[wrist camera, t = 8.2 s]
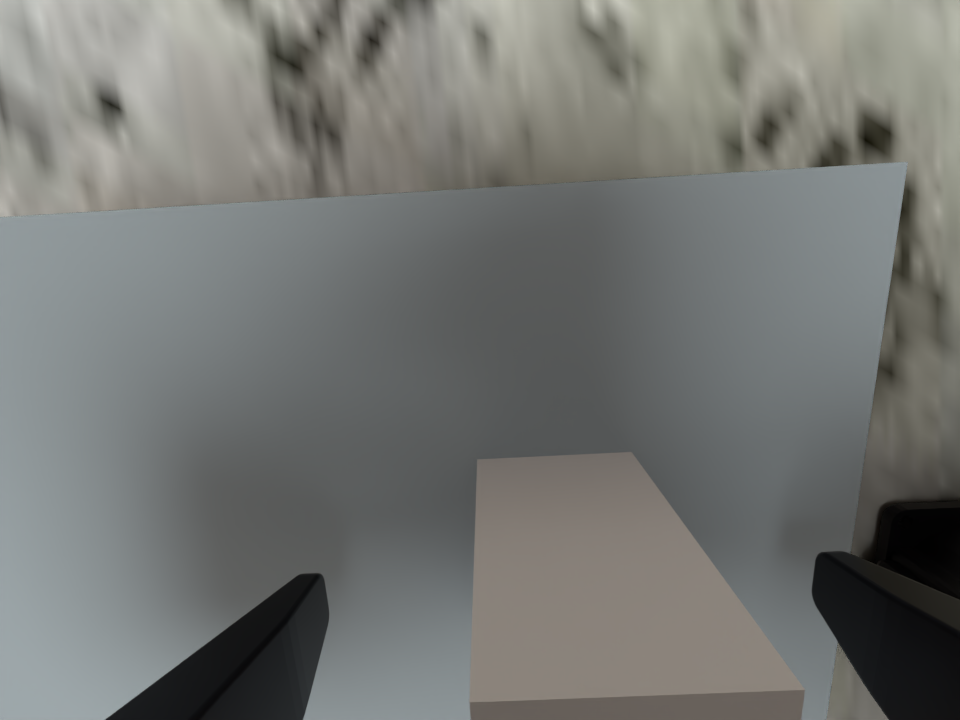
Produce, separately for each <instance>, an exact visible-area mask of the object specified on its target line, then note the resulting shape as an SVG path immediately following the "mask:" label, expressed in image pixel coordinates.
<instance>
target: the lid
mask: <svg viewBox="0 0 960 720" xmlns="http://www.w3.org/2000/svg"><path fill="white" fill-rule="evenodd" d="M907 164H908V162H897V163H881V164H864V165H848V166H832V167H815V168H799V169H782V170H766V171H750V172H733V173H717V174H700V175H684V176H668V177H651V178H635V179H619V180H602V181H586V182H569V183H553V184H537V185H520V186H504V187H488V188H471V189H455V190H438V191H422V192H406V193H389V194H373V195H357V196H340V197H324V198H307V199H291V200H275V201H258V202H242V203H225V204H209V205H193V206H176V207H160V208H144V209H127V210H111V211H94V212H78V213H62V214H45V215H29V216H13V217H0V720H105V719H106V718H108V717H109V716H110V715H112V714H113V713H114V712H116V711H117V710H118V709H120V708H121V707H122V706H124V705H125V704H126V703H128V702H129V701H130V700H132V699H133V698H134V697H136V696H137V695H138V694H140V693H141V692H142V691H144V690H145V689H146V688H148V687H149V686H150V685H152V684H153V683H154V682H156V681H157V680H158V679H160V678H161V677H162V676H164V675H165V674H166V673H168V672H169V671H170V670H172V669H173V668H174V667H176V666H177V665H178V664H180V663H181V662H182V661H184V660H185V659H186V658H188V657H189V656H190V655H192V654H193V653H194V652H196V651H197V650H198V649H200V648H201V647H202V646H204V645H205V644H206V643H208V642H209V641H210V640H212V639H213V638H214V637H216V636H217V635H218V634H220V633H221V632H222V631H224V630H225V629H226V628H228V627H229V626H230V625H232V624H233V623H234V622H236V621H237V620H238V619H240V618H241V617H242V616H244V615H245V614H246V613H248V612H249V611H250V610H252V609H253V608H254V607H256V606H257V605H258V604H260V603H261V602H262V601H264V600H265V599H266V598H268V597H269V596H270V595H272V594H273V593H274V592H276V591H277V590H278V589H280V588H281V587H282V586H284V585H285V584H286V583H288V582H289V581H291V580H292V579H293V578H295V577H296V576H297V575H299V574H303V573H320V574H322V575H323V577H324V580H325V586H326V592H327V599H328V605H329V623H328V628H327V632H326V635H325V639H324V643H323V647H322V651H321V655H320V659H319V663H318V666H317V670H316V674H315V678H314V682H313V686H312V690H311V694H310V697H309V701H308V705H307V708H306V712H305V715H304V718H303V720H826V719H827V712H828V705H829V698H830V691H831V684H832V677H833V671H834V664H835V657H836V650H837V643H838V641H837V640H836V638H835V636H834V635H833V633H832V632H831V630H830V628H829V627H828V625H827V624H826V622H825V620H824V619H823V617H822V615H821V614H820V612H819V611H818V609H817V607H816V605H815V603H814V601H813V598H812V582H813V574H814V566H815V559H816V556H817V555H818V554H819V553H820V552H827V551H844V552H848V553H850V554H851V547H852V540H853V534H854V527H855V520H856V513H857V506H858V499H859V493H860V486H861V479H862V472H863V465H864V458H865V451H866V445H867V438H868V431H869V424H870V417H871V410H872V403H873V397H874V390H875V383H876V376H877V369H878V362H879V356H880V349H881V342H882V335H883V328H884V321H885V314H886V308H887V301H888V294H889V287H890V280H891V273H892V266H893V260H894V253H895V246H896V239H897V232H898V225H899V219H900V212H901V205H902V198H903V191H904V184H905V177H906V171H907Z"/></svg>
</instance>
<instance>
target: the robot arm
mask: <svg viewBox="0 0 960 720" xmlns="http://www.w3.org/2000/svg"><path fill="white" fill-rule="evenodd" d="M902 517H903V518H902ZM901 518H902V519H901ZM900 519H901V520H900ZM899 520H900V521H899ZM812 598H813V601H814V603H815V605H816V607H817V609H818V611H819V612H820V614H821V615H822V617H823V619H824V620H825V622H826V624H827V625H828V627H829V628H830V630H831V632H832V633H833V635H834V636H835V638H836V640H837V641H838V643H839V645H840V646H841V648H842V649H843V651H844V653H845V654H846V656H847V657H848V659H849V661H850V662H851V664H852V665H853V667H854V669H855V670H856V672H857V674H858V675H859V677H860V678H861V680H862V682H863V683H864V685H865V686H866V688H867V689H868V691H869V692H870V694H871V695H872V697H873V698H874V699H875V701H876V702H877V704H878V705H879V707H880V708H881V709H882V711H883V712H884V714H885V715H886V716H887V718H888V719H889V720H960V501H945V502H923V503H902V504H894V505H891V506H890V507H888V508H887V509H886V510H885V511H884V513H883V515H882V520H881V526H880V532H879V539H878V545H877V551H876V557H875V563H871V562H869V561H866V560H864V559H862V558H859V557H857V556H855V555H852V554H850V553H848V552H844V551H827V552H820V553H819V554H818V555H817V556H816V559H815V566H814V574H813V582H812ZM328 623H329V605H328V599H327V592H326V586H325V580H324V577H323V575H322V574H320V573H303V574H299V575H297V576H296V577H295V578H293V579H292V580H291V581H289V582H288V583H286V584H285V585H284V586H282V587H281V588H280V589H278V590H277V591H276V592H274V593H273V594H272V595H270V596H269V597H268V598H266V599H265V600H264V601H262V602H261V603H260V604H258V605H257V606H256V607H254V608H253V609H252V610H250V611H249V612H248V613H246V614H245V615H244V616H242V617H241V618H240V619H238V620H237V621H236V622H234V623H233V624H232V625H230V626H229V627H228V628H226V629H225V630H224V631H222V632H221V633H220V634H218V635H217V636H216V637H214V638H213V639H212V640H210V641H209V642H208V643H206V644H205V645H204V646H202V647H201V648H200V649H198V650H197V651H196V652H194V653H193V654H192V655H190V656H189V657H188V658H186V659H185V660H184V661H182V662H181V663H180V664H178V665H177V666H176V667H174V668H173V669H172V670H170V671H169V672H168V673H166V674H165V675H164V676H162V677H161V678H160V679H158V680H157V681H156V682H154V683H153V684H152V685H150V686H149V687H148V688H146V689H145V690H144V691H142V692H141V693H140V694H138V695H137V696H136V697H134V698H133V699H132V700H130V701H129V702H128V703H126V704H125V705H124V706H122V707H121V708H120V709H118V710H117V711H116V712H114V713H113V714H112V715H110V716H109V717H108V718H106V719H105V720H303V718H304V715H305V712H306V708H307V705H308V701H309V697H310V694H311V690H312V686H313V682H314V678H315V674H316V670H317V666H318V663H319V659H320V655H321V651H322V647H323V643H324V639H325V635H326V632H327V628H328Z"/></svg>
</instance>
